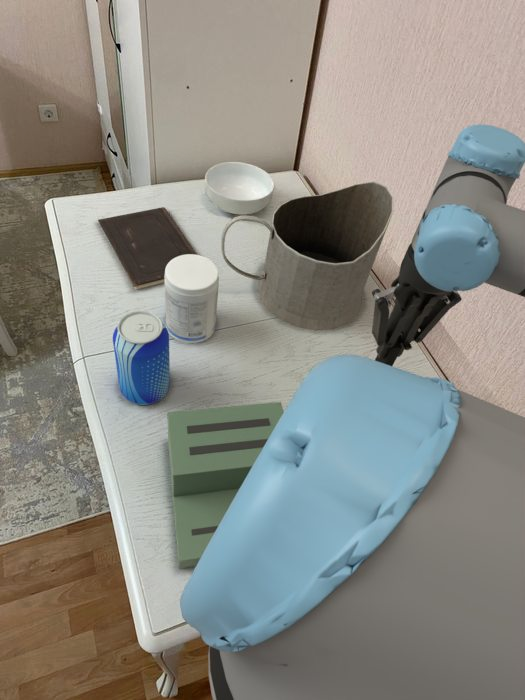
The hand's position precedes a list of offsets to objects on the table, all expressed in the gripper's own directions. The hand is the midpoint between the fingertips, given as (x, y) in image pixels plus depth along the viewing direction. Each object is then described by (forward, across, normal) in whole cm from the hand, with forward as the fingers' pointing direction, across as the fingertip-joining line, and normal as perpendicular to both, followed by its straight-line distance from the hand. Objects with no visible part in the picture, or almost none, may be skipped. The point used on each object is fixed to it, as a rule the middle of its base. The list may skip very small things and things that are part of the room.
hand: (381, 367), depth 81 cm
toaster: (+12, +26, +14) cm, 32 cm away
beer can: (+12, +38, -8) cm, 40 cm away
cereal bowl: (+13, +12, -63) cm, 65 cm away
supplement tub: (+12, +28, -22) cm, 38 cm away
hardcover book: (+12, +34, -45) cm, 58 cm away
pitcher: (+12, +6, -30) cm, 33 cm away
